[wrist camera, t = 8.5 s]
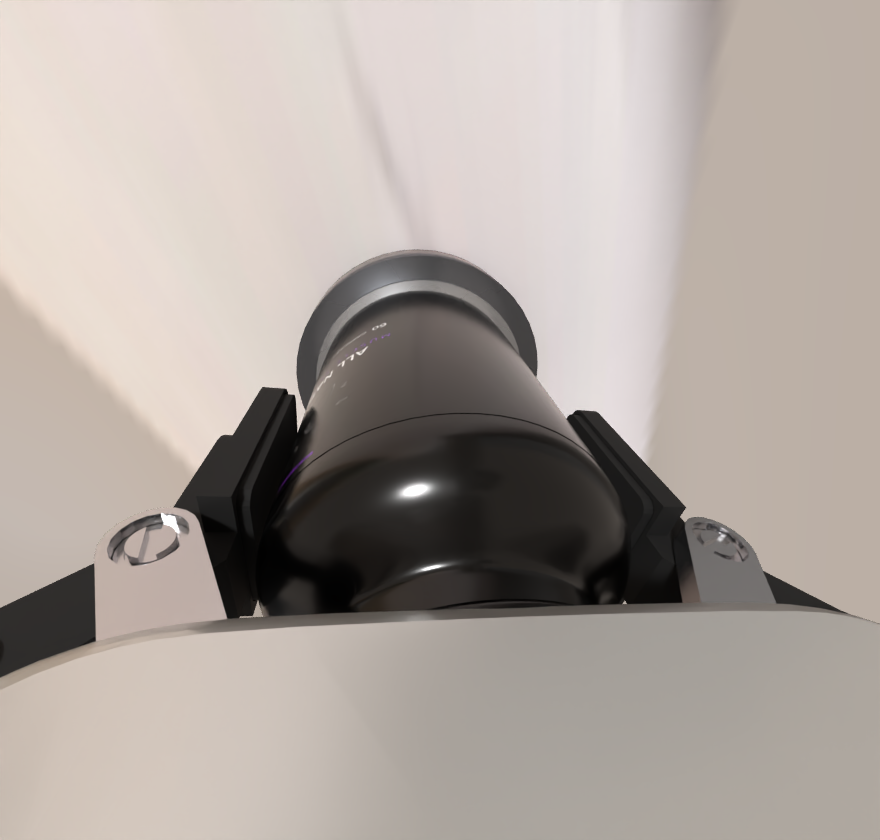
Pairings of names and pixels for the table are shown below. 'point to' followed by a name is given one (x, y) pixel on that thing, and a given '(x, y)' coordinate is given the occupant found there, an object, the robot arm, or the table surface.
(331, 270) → the table surface
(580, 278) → the table surface
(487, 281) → the plate
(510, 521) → the supplement bottle
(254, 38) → the table surface
